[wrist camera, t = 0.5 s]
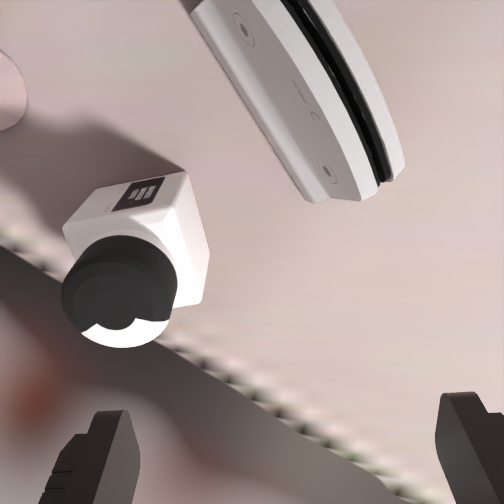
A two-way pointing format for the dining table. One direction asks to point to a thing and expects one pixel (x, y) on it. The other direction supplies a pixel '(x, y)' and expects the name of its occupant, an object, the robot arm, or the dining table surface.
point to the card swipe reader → (307, 92)
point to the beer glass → (11, 93)
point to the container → (134, 259)
